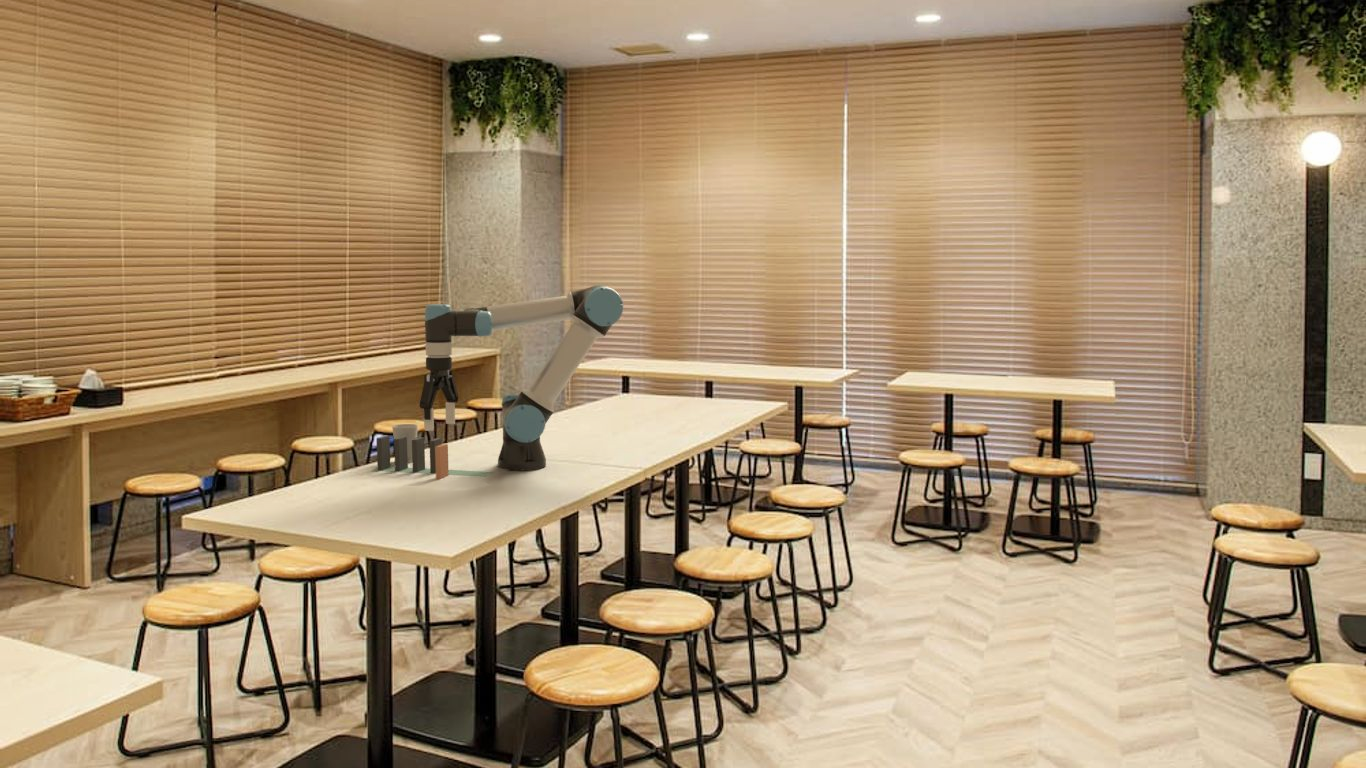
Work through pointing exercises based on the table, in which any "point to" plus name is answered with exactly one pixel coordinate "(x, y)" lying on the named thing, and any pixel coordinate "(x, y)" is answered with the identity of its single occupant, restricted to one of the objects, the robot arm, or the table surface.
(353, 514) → the table surface
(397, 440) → the domino
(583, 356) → the robot arm
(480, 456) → the table surface
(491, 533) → the table surface
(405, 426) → the cup
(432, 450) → the domino
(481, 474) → the runner
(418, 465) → the domino
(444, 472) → the domino
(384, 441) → the domino
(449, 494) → the table surface
